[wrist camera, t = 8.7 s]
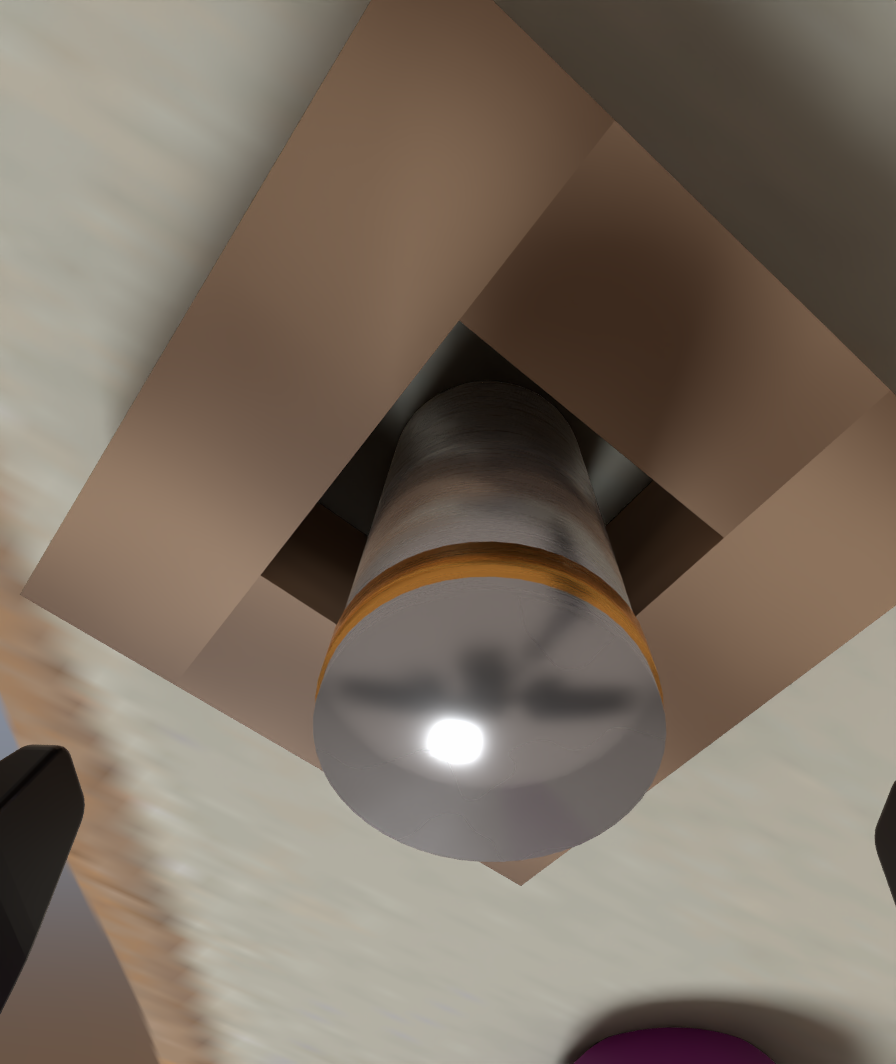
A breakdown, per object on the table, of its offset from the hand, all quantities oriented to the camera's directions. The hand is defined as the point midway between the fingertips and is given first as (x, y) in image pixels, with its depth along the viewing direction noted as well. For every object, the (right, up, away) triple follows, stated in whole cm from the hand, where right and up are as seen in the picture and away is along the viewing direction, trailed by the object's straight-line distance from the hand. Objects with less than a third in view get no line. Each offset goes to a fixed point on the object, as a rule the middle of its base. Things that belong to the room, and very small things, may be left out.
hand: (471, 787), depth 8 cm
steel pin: (+1, +4, +7) cm, 9 cm away
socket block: (+1, +4, +7) cm, 8 cm away
